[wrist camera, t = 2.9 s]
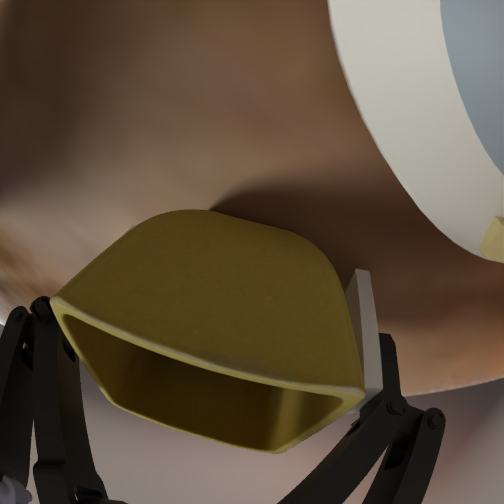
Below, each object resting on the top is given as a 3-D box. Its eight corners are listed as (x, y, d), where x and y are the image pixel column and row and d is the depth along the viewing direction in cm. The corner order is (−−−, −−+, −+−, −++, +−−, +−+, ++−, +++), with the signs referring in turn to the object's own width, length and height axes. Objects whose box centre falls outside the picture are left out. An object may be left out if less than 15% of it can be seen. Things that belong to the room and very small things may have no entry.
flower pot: (351, 211, 12) (375, 399, 5) (298, 324, 18) (279, 457, 11) (173, 165, 13) (42, 295, 6) (171, 288, 18) (111, 405, 11)
